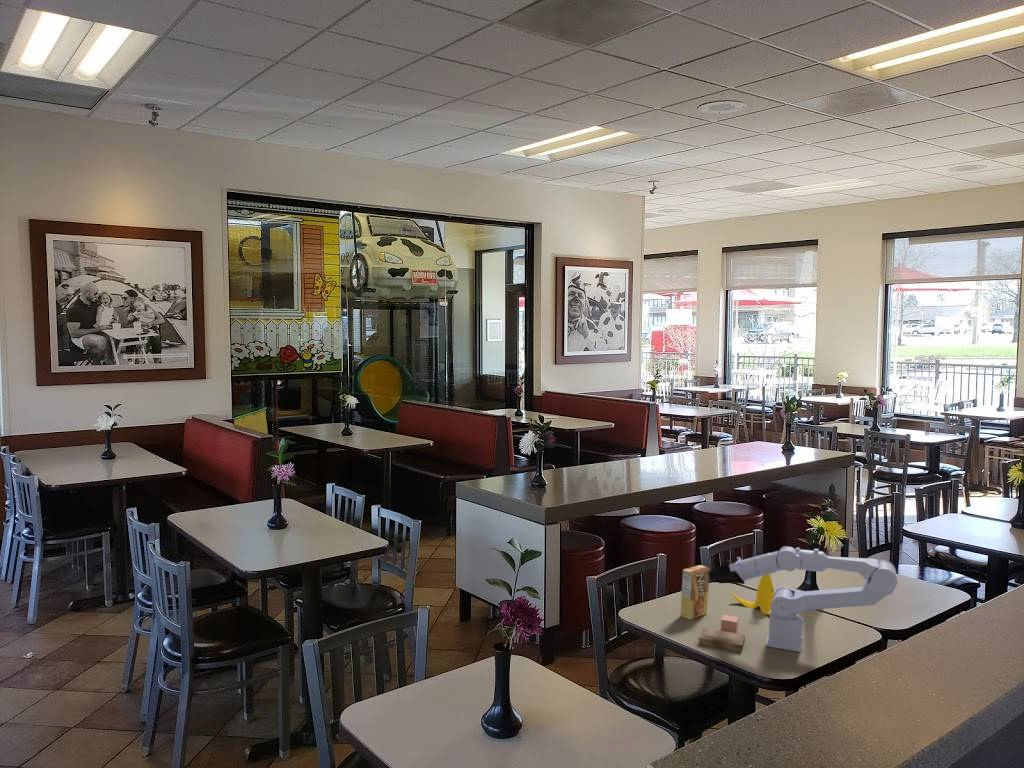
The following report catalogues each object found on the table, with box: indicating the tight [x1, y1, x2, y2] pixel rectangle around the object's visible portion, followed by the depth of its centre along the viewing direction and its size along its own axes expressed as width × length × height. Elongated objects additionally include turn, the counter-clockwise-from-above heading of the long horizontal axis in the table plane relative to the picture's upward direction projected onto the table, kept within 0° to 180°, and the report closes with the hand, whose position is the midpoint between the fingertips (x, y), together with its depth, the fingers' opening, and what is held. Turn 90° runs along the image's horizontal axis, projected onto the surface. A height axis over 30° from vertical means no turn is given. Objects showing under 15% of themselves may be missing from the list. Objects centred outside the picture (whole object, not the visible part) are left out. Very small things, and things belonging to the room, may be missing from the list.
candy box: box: [679, 564, 711, 620], centre depth 245 cm, size 9×4×15 cm, turn 129°
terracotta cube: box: [720, 614, 739, 634], centre depth 233 cm, size 4×4×4 cm
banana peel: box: [731, 574, 775, 616], centre depth 254 cm, size 16×19×17 cm
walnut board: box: [698, 627, 746, 653], centre depth 225 cm, size 12×8×2 cm, turn 68°
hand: (714, 577), depth 232 cm, fingers open, 7 cm apart
